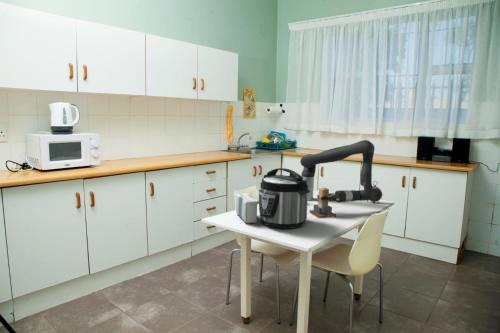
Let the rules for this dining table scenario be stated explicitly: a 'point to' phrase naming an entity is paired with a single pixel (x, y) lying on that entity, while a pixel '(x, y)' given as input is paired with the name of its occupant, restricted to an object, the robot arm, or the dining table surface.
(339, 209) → the dining table surface
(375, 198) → the alarm clock
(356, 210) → the dining table surface
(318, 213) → the socket board
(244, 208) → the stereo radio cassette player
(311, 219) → the dining table surface
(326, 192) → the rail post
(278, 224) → the pressure cooker
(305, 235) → the dining table surface
